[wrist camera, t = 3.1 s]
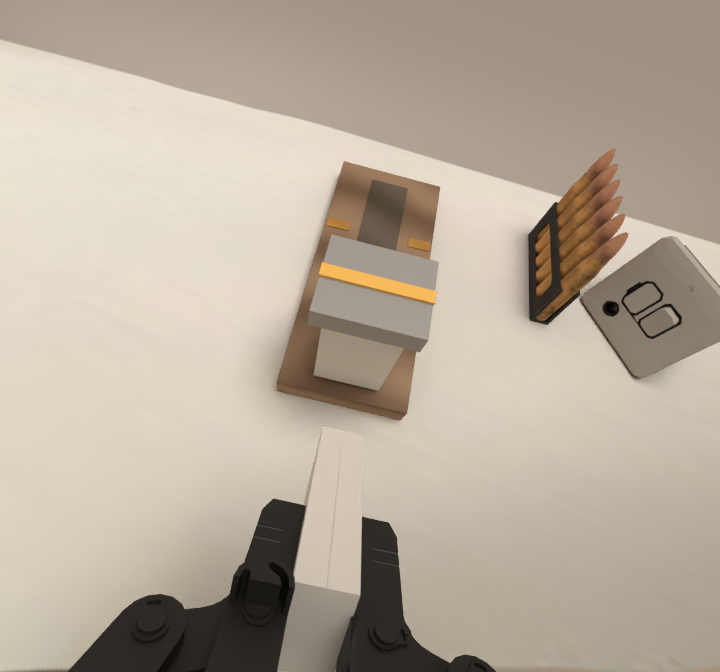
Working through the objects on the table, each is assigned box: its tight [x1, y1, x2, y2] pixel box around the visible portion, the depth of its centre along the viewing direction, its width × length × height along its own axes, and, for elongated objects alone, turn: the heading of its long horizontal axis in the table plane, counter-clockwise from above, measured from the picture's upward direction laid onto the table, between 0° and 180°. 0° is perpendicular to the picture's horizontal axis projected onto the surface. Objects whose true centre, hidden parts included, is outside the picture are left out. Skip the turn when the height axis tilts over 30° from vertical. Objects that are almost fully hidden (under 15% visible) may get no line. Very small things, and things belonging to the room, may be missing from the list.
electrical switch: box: [582, 236, 720, 377], centre depth 38 cm, size 9×5×9 cm, turn 23°
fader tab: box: [308, 234, 439, 391], centre depth 28 cm, size 5×6×11 cm
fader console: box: [277, 161, 440, 420], centre depth 38 cm, size 24×10×2 cm, turn 169°
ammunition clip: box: [529, 149, 628, 325], centre depth 38 cm, size 11×2×12 cm, turn 170°
